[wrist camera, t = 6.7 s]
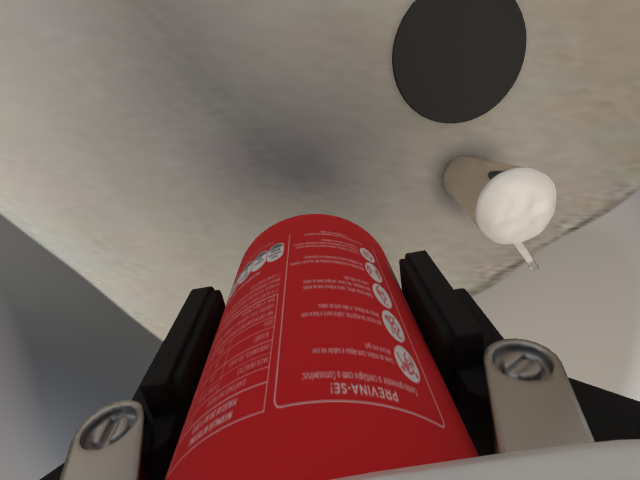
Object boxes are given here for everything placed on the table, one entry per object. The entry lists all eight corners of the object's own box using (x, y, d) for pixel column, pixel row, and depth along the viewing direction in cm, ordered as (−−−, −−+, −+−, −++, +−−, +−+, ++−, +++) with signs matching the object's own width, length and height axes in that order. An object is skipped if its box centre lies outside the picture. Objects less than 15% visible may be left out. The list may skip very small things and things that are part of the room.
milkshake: (437, 219, 31) (494, 278, 21) (430, 154, 29) (489, 187, 19) (494, 207, 30) (576, 260, 21) (490, 139, 28) (579, 166, 19)
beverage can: (345, 176, 13) (626, 824, 2) (406, 294, 15) (734, 978, 3) (214, 246, 13) (-205, 1007, 2) (288, 350, 15) (244, 1054, 4)
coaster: (399, 133, 28) (400, 134, 28) (384, -8, 25) (386, -10, 24) (522, 109, 28) (525, 110, 27) (524, -37, 24) (528, -39, 24)
